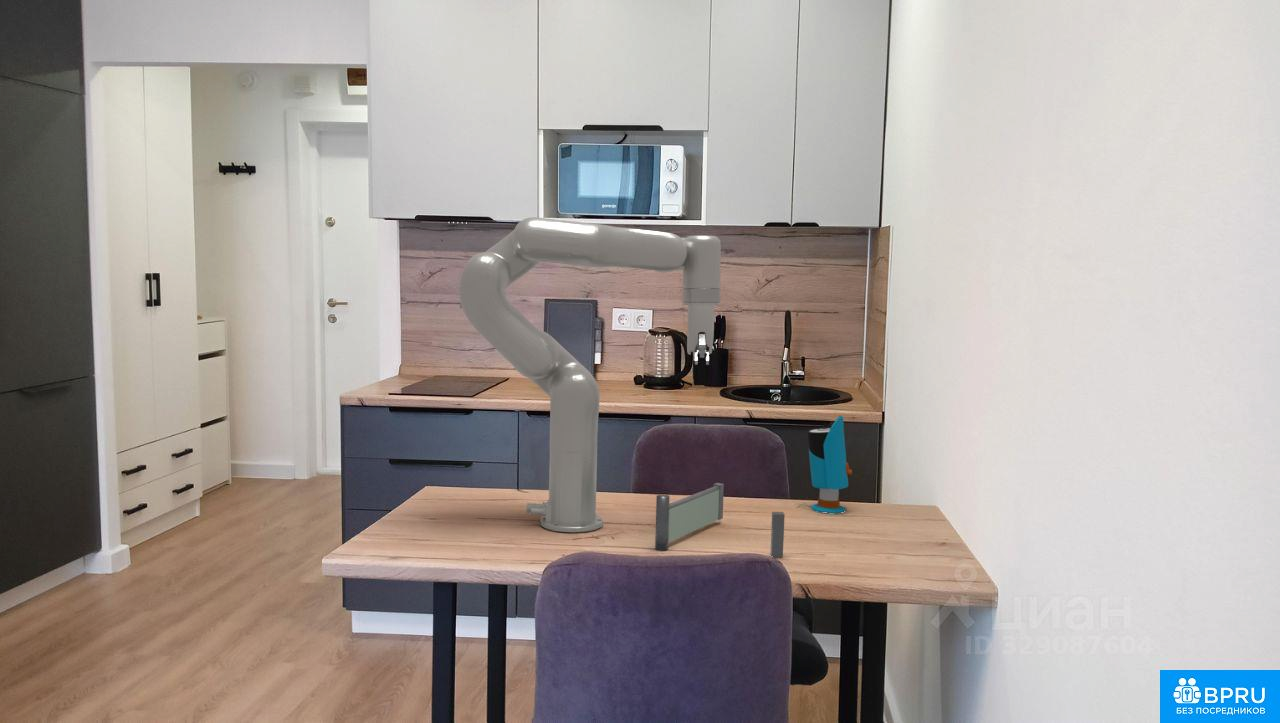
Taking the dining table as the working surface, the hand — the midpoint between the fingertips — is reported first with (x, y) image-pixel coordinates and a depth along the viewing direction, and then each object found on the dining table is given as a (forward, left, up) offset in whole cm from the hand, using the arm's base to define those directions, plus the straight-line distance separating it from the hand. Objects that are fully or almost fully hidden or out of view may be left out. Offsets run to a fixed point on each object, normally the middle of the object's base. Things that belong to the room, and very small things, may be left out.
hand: (701, 382), depth 187 cm
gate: (-1, -7, -28) cm, 29 cm away
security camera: (+30, +17, -30) cm, 45 cm away
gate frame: (+3, -19, -29) cm, 35 cm away
